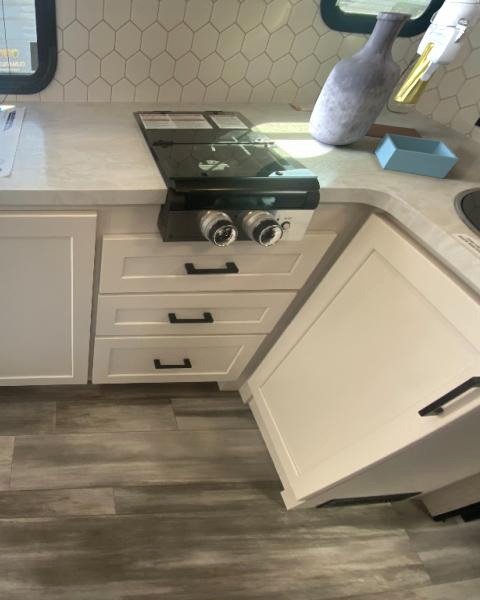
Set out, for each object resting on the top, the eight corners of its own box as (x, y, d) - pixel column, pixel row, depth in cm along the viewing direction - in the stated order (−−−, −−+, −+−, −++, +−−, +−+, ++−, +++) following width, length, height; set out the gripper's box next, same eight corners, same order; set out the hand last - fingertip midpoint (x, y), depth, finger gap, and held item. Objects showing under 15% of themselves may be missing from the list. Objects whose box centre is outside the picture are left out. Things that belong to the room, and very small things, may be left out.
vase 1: (352, 136, 108) (420, 12, 87) (366, 155, 97) (448, 18, 76) (297, 130, 111) (350, 9, 90) (304, 147, 100) (367, 14, 79)
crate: (429, 159, 95) (442, 141, 92) (443, 178, 87) (459, 158, 83) (374, 151, 99) (385, 133, 95) (382, 168, 90) (395, 149, 87)
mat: (414, 130, 114) (414, 128, 113) (425, 144, 104) (426, 142, 104) (352, 121, 118) (353, 120, 118) (358, 134, 109) (358, 133, 109)
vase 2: (394, 97, 108) (426, 41, 98) (417, 100, 106) (453, 43, 96) (393, 101, 104) (427, 43, 95) (417, 105, 102) (455, 46, 92)
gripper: (486, 21, 83) (443, 86, 93) (458, 14, 97) (423, 72, 107) (455, 19, 85) (416, 84, 95) (432, 13, 99) (399, 70, 108)
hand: (419, 77), depth 101 cm, fingers closed on vase 2, 5 cm apart
